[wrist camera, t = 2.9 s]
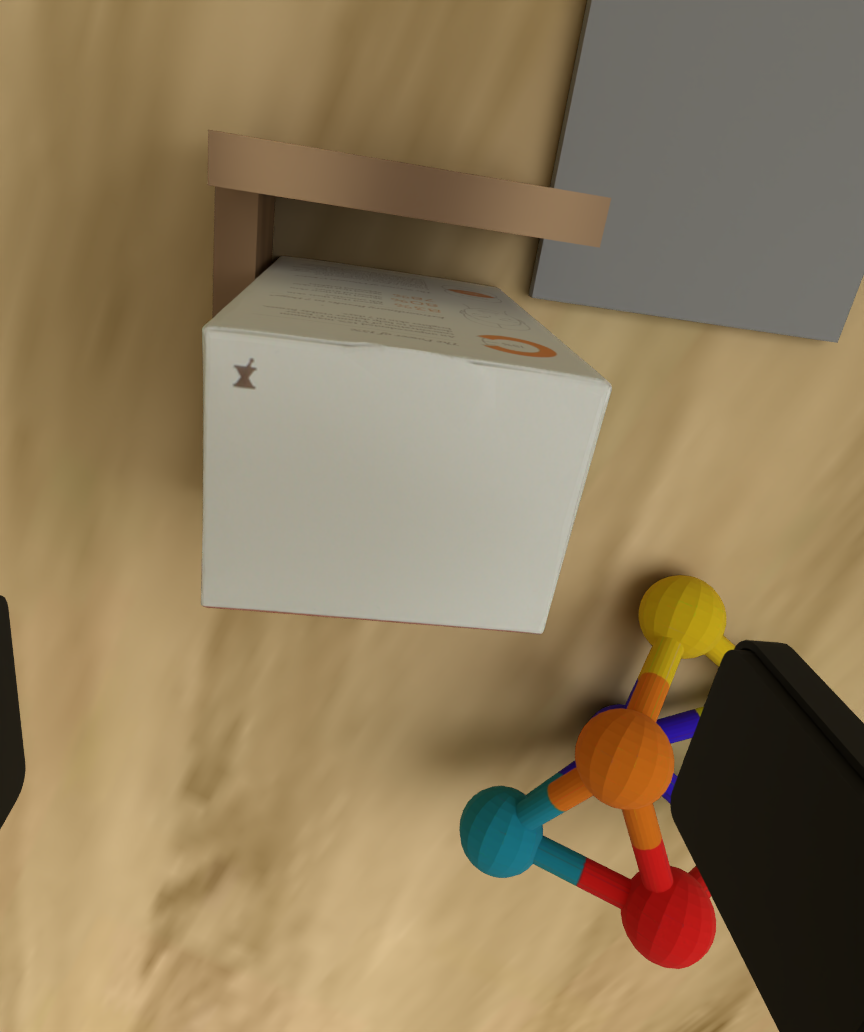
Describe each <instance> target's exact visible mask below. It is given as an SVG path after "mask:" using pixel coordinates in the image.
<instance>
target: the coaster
mask: <svg viewBox="0 0 864 1032" xmlns="http://www.w3.org/2000/svg"><path fill="white" fill-rule="evenodd" d="M550 188H555V189H561V190H567V191H573V192H579V193H585V194H591V195H597V196H603V197H608V198H611V202H610V206H609V210H608V215H607V219H606V223H605V227H604V232H603V236H602V240H601V245H600V248H599V247H593V246H587V245H580V244H574V243H568V242H561V241H555V240H549V239H543V238H540V240H539V245H538V250H537V255H536V260H535V265H534V270H533V275H532V280H531V286H530V291H529V296H530V297H532V298H538V299H545V300H551V301H558V302H565V303H572V304H579V305H585V306H592V307H599V308H606V309H612V310H619V311H626V312H633V313H640V314H646V315H653V316H660V317H667V318H674V319H680V320H687V321H694V322H701V323H708V324H714V325H721V326H728V327H735V328H741V329H748V330H755V331H762V332H769V333H775V334H782V335H789V336H796V337H803V338H809V339H816V340H823V341H830V342H837V343H838V340H839V337H840V335H841V332H842V330H843V327H844V324H845V322H846V319H847V317H848V314H849V311H850V309H851V306H852V304H853V301H854V298H855V296H856V293H857V291H858V288H859V285H860V283H861V280H862V278H863V275H864V0H587V4H586V9H585V14H584V19H583V24H582V29H581V34H580V39H579V44H578V49H577V54H576V59H575V64H574V70H573V75H572V80H571V85H570V90H569V95H568V100H567V105H566V110H565V115H564V120H563V125H562V130H561V135H560V140H559V145H558V150H557V155H556V160H555V165H554V170H553V175H552V180H551V185H550Z"/></svg>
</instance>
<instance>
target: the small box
mask: <svg viewBox="0 0 864 1032" xmlns="http://www.w3.org/2000/svg"><path fill="white" fill-rule="evenodd" d="M202 349H203V542H202V591H201V605H202V606H203V607H207V608H220V609H233V610H246V611H259V612H271V613H284V614H296V615H307V616H320V617H334V618H348V619H361V620H372V621H384V622H396V623H408V624H421V625H435V626H447V627H460V628H473V629H484V630H496V631H508V632H520V633H533V634H542V633H543V631H544V628H545V625H546V621H547V617H548V613H549V610H550V606H551V602H552V599H553V595H554V591H555V588H556V584H557V581H558V577H559V574H560V570H561V567H562V563H563V560H564V556H565V553H566V549H567V546H568V542H569V538H570V535H571V531H572V528H573V524H574V521H575V517H576V514H577V510H578V506H579V503H580V499H581V496H582V492H583V489H584V485H585V481H586V478H587V474H588V471H589V467H590V464H591V460H592V457H593V453H594V450H595V446H596V443H597V439H598V436H599V432H600V429H601V425H602V422H603V418H604V415H605V411H606V408H607V404H608V401H609V397H610V394H611V390H612V386H611V384H610V383H609V382H608V381H607V380H606V379H605V378H604V377H602V376H601V375H600V374H599V373H598V372H597V371H596V370H594V369H593V368H592V367H591V366H590V365H589V364H587V363H586V362H585V361H584V360H583V359H581V358H580V357H579V356H578V355H577V354H575V353H574V352H573V351H572V350H571V349H570V348H568V347H567V346H566V345H565V344H564V343H563V342H562V341H560V340H559V339H558V338H557V337H556V336H554V335H553V334H552V333H551V332H550V331H549V330H547V329H546V328H545V327H544V326H543V325H541V324H540V323H539V322H538V321H537V320H535V319H534V318H533V317H532V316H531V315H529V314H528V313H527V312H526V311H525V310H523V309H522V308H521V307H520V306H519V305H518V304H516V303H515V302H514V301H513V300H512V299H510V298H509V297H508V296H507V295H506V294H505V293H504V292H503V291H501V290H500V289H499V288H497V287H492V286H486V285H480V284H474V283H468V282H462V281H455V280H449V279H443V278H436V277H429V276H423V275H416V274H410V273H403V272H396V271H389V270H383V269H376V268H369V267H362V266H356V265H349V264H342V263H335V262H328V261H321V260H314V259H307V258H298V257H289V256H280V257H279V259H277V260H276V261H275V262H274V263H273V264H272V265H271V266H269V267H268V268H267V269H266V270H265V271H264V272H263V273H262V274H261V275H260V276H259V277H257V278H256V279H255V280H254V281H253V282H252V283H251V284H250V285H249V286H248V287H247V288H245V289H244V290H243V291H242V292H241V293H240V294H239V295H238V296H237V297H236V298H234V299H233V300H232V301H231V302H230V303H229V304H228V305H227V306H225V307H224V308H223V309H222V310H221V311H220V312H219V313H218V314H217V315H216V316H215V317H214V318H213V319H211V320H210V321H209V322H208V323H206V324H205V325H204V326H203V328H202Z"/></svg>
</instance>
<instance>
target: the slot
mask: <svg viewBox="0 0 864 1032" xmlns="http://www.w3.org/2000/svg"><path fill="white" fill-rule="evenodd" d="M208 185H210V186H215V216H214V267H213V318H214V317H215V316H216V315H217V314H218V313H219V312H220V311H221V310H222V309H223V308H224V307H225V306H227V305H228V304H229V303H230V302H231V301H232V300H233V299H234V298H236V297H237V296H238V295H239V294H240V293H241V292H242V291H243V290H244V289H245V288H247V287H248V286H249V285H250V284H251V283H252V282H253V281H254V280H255V279H256V278H257V277H259V276H260V275H261V274H262V273H263V272H264V271H265V270H266V269H267V268H268V267H269V266H271V265H272V250H273V230H274V211H275V196H279V197H285V198H291V199H298V200H304V201H310V202H317V203H323V204H329V205H335V206H342V207H348V208H354V209H361V210H367V211H373V212H379V213H386V214H392V215H398V216H404V217H411V218H417V219H423V220H430V221H436V222H442V223H448V224H455V225H461V226H467V227H474V228H480V229H486V230H492V231H499V232H505V233H511V234H517V235H524V236H530V237H536V238H543V239H549V240H555V241H561V242H568V243H574V244H580V245H587V246H593V247H599V248H600V245H601V240H602V236H603V232H604V227H605V223H606V219H607V215H608V210H609V206H610V202H611V198H608V197H603V196H597V195H591V194H585V193H579V192H573V191H567V190H561V189H555V188H550V187H544V186H538V185H532V184H526V183H520V182H514V181H508V180H502V179H496V178H491V177H485V176H479V175H473V174H467V173H461V172H455V171H449V170H443V169H437V168H432V167H426V166H420V165H414V164H408V163H402V162H396V161H390V160H384V159H379V158H373V157H367V156H361V155H355V154H349V153H343V152H337V151H331V150H325V149H320V148H314V147H308V146H302V145H296V144H290V143H284V142H278V141H272V140H266V139H261V138H255V137H249V136H243V135H237V134H231V133H225V132H219V131H213V130H209V133H208ZM213 318H212V319H213ZM201 591H202V582H201Z"/></svg>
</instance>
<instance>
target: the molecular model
mask: <svg viewBox="0 0 864 1032" xmlns="http://www.w3.org/2000/svg"><path fill="white" fill-rule="evenodd" d="M639 623H640V627H641V630H642V632H643V634H644V636H645V638H646V639H647V640H648V642H649V643H650V644H651V645H652V648H651V650H650V652H649V654H648V656H647V659H646V661H645V663H644V665H643V667H642V670H641V672H640V674H639V676H638V678H637V680H636V683H635V685H634V687H633V689H632V691H631V694H630V696H629V698H628V700H627V702H626V705H623V704H617V705H610V706H608V707H605V708H603V709H601V710H600V711H598V712H597V713H595V715H594V716H593V717H592V718H591V719H590V721H589V722H588V723H587V724H586V725H585V726H584V727H583V729H582V731H581V733H580V734H579V736H578V740H577V743H576V748H575V761H573V762H572V763H571V764H569V765H568V766H566V767H565V768H564V769H562V770H561V771H559V772H558V773H556V774H555V775H554V776H552V777H551V778H549V779H548V780H547V781H545V782H544V783H542V784H541V785H540V786H538V787H537V788H535V789H534V790H532V791H531V792H530V793H528V794H527V795H525V794H523V793H522V792H520V791H518V790H516V789H514V788H511V787H505V786H494V787H490V788H488V789H485V790H482V791H480V792H479V793H477V794H476V795H474V796H473V797H472V799H471V800H470V801H469V802H468V803H467V805H466V807H465V808H464V810H463V813H462V816H461V819H460V837H461V844H462V847H463V850H464V853H465V854H466V856H467V857H468V859H469V860H470V862H471V863H472V864H473V865H474V866H475V867H476V868H478V869H479V870H480V871H482V872H483V873H485V874H487V875H490V876H493V877H498V878H507V877H512V876H515V875H518V874H521V873H522V872H524V871H526V870H527V869H528V868H529V867H530V866H531V865H532V864H535V865H536V866H538V867H540V868H542V869H544V870H546V871H548V872H550V873H552V874H554V875H556V876H558V877H560V878H562V879H564V880H566V881H568V882H570V883H571V884H573V885H575V886H577V887H579V888H581V889H583V890H585V891H587V892H589V893H591V894H593V895H595V896H597V897H599V898H601V899H603V900H604V901H606V902H608V903H610V904H612V905H614V906H616V907H618V908H620V909H621V917H622V923H623V926H624V929H625V931H626V934H627V936H628V937H629V939H630V941H631V942H632V944H633V945H634V947H635V948H636V949H637V950H638V951H639V952H640V953H641V954H642V955H643V956H644V957H645V958H646V959H648V960H649V961H651V962H653V963H655V964H657V965H660V966H662V967H666V968H676V969H680V968H685V967H689V966H690V965H692V964H694V963H696V962H697V961H699V960H700V959H701V958H702V957H703V956H704V955H705V954H706V953H707V952H708V950H709V949H710V947H711V945H712V943H713V940H714V936H715V932H716V918H715V913H714V908H713V906H712V903H711V901H710V897H711V894H710V892H709V890H708V888H707V886H706V884H705V882H704V880H703V878H702V876H701V874H700V872H699V870H698V868H697V866H695V867H694V868H693V869H692V870H691V871H690V872H689V873H687V872H685V871H683V870H681V869H679V868H676V867H672V866H670V865H669V861H668V858H667V854H666V850H665V847H664V843H663V839H662V836H661V832H660V828H659V825H658V821H657V817H656V813H655V810H654V806H653V802H655V801H656V800H658V799H659V798H660V797H661V796H662V797H663V798H664V799H666V800H667V801H668V802H669V803H670V800H671V794H672V790H673V787H674V785H675V782H676V779H677V777H678V776H676V775H675V774H674V773H673V772H674V755H673V750H672V746H671V743H675V742H678V741H682V740H685V739H689V738H692V737H693V734H694V732H695V729H696V726H697V724H698V721H699V719H700V716H701V713H702V711H703V708H704V707H700V708H696V709H693V710H689V711H686V712H682V713H679V714H675V715H672V716H668V717H665V718H661V719H658V720H657V718H658V716H659V713H660V711H661V708H662V706H663V703H664V700H665V698H666V695H667V693H668V690H669V688H670V685H671V683H672V680H673V677H674V675H675V672H676V670H677V667H678V665H679V662H680V660H681V659H688V658H695V657H698V656H701V655H706V656H707V657H708V658H709V659H710V660H711V661H713V662H714V663H715V664H716V665H717V666H718V667H719V666H720V663H721V660H722V658H723V656H724V654H725V653H726V652H727V651H729V650H734V648H735V646H734V645H733V644H732V643H731V642H730V641H729V640H728V639H727V638H726V637H724V636H723V634H724V630H725V627H726V612H725V607H724V604H723V602H722V600H721V598H720V596H719V595H718V594H717V593H716V592H715V590H714V589H713V588H712V587H711V586H710V585H708V584H707V583H706V582H704V581H702V580H700V579H698V578H695V577H692V576H685V575H676V576H670V577H666V578H664V579H661V580H659V581H658V582H656V583H655V584H653V585H652V586H651V587H650V588H649V589H648V590H647V591H646V593H645V594H644V596H643V598H642V600H641V603H640V607H639ZM593 795H594V796H595V797H596V798H597V799H598V800H600V801H601V802H603V803H605V804H607V805H609V806H611V807H614V808H619V809H622V812H623V815H624V819H625V822H626V826H627V829H628V833H629V836H630V840H631V844H632V847H633V851H634V854H635V858H636V861H637V865H638V868H639V872H638V873H637V874H636V875H635V876H634V877H633V878H632V879H629V878H627V877H625V876H623V875H621V874H619V873H617V872H615V871H613V870H611V869H609V868H607V867H605V866H603V865H601V864H599V863H597V862H595V861H593V860H591V859H589V858H587V857H585V856H583V855H581V854H579V853H577V852H575V851H573V850H571V849H569V848H567V847H565V846H563V845H561V844H559V843H557V842H555V841H553V840H551V839H549V838H547V837H545V836H543V826H542V825H543V824H544V823H546V822H548V821H550V820H551V819H553V818H555V817H556V816H558V815H560V814H562V813H563V812H565V811H567V810H569V809H570V808H572V807H574V806H576V805H577V804H579V803H581V802H583V801H584V800H586V799H588V798H590V797H591V796H593Z"/></svg>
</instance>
